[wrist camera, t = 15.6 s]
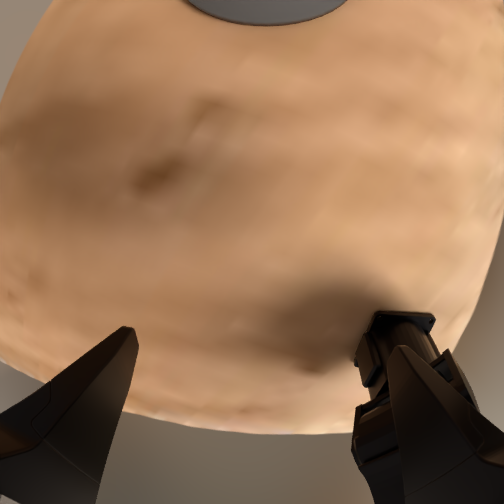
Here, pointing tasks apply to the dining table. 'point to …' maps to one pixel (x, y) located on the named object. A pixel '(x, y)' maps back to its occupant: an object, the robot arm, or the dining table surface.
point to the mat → (267, 10)
